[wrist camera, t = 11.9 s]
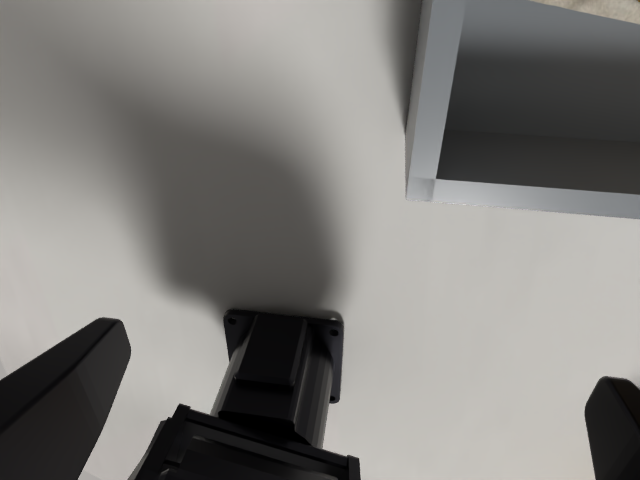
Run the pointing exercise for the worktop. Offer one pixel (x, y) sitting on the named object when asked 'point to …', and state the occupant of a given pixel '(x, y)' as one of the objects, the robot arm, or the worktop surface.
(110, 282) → the worktop surface
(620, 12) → the condiment
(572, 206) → the bin
